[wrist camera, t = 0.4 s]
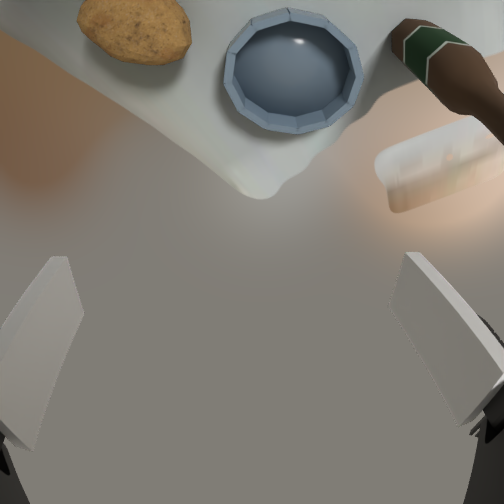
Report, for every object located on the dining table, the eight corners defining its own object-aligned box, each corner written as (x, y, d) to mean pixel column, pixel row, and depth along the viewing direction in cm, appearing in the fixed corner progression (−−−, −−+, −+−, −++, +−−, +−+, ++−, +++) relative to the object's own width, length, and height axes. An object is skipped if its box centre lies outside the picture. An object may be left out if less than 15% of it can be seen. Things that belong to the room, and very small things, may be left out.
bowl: (206, 35, 30) (201, 43, 28) (334, -4, 25) (342, 0, 23) (256, 131, 42) (255, 146, 40) (364, 102, 37) (372, 116, 35)
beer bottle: (400, 74, 32) (494, 201, 19) (378, 25, 27) (492, 125, 13) (446, 58, 29) (558, 175, 15) (428, 9, 24) (565, 100, 10)
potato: (172, 70, 34) (155, 95, 29) (87, 24, 26) (55, 43, 22) (218, 14, 28) (209, 27, 23) (125, -37, 20) (95, -33, 16)
